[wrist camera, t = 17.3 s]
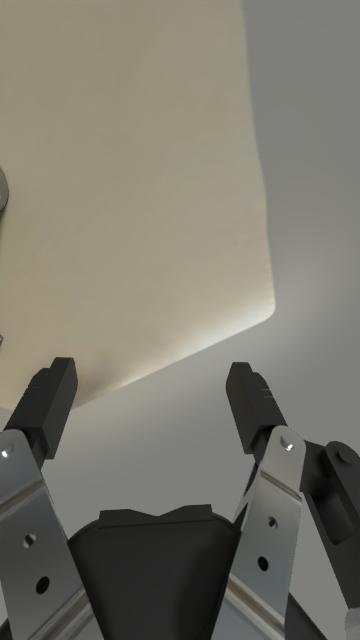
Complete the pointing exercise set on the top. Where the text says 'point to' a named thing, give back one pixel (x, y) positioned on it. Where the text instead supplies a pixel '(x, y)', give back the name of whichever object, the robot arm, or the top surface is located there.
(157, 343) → the top surface
